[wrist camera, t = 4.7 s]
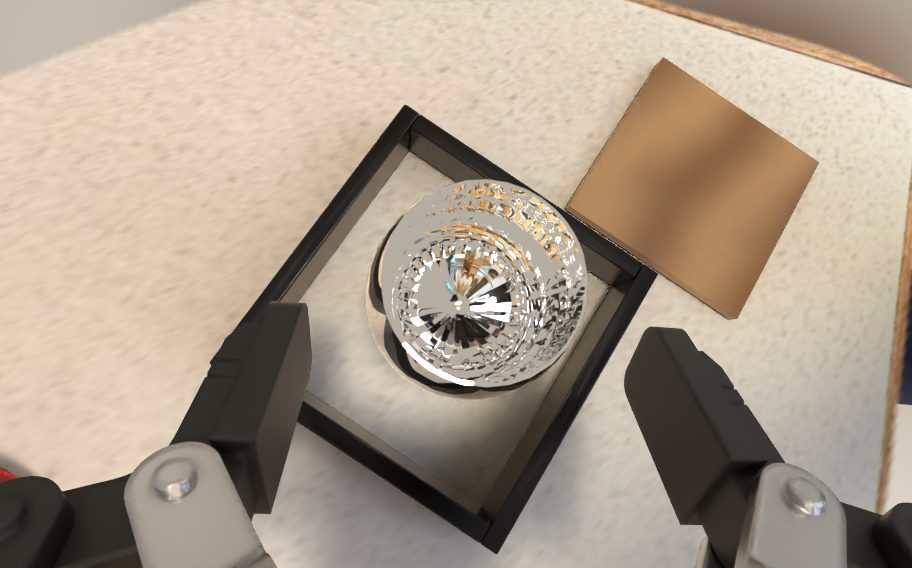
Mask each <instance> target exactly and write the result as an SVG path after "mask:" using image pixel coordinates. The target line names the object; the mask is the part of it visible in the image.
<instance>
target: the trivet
mask: <svg viewBox="0 0 912 568" xmlns="http://www.w3.org/2000/svg"><path fill="white" fill-rule="evenodd" d="M818 164H819V162H818V161H816V160H815V159H813V158H812V157H810V156H809V155H807V154H806V153H805V152H803V151H802V150H800V149H799V148H797V147H796V146H794V145H793V144H791V143H790V142H788V141H787V140H785V139H784V138H782V137H781V136H779V135H778V134H776V133H775V132H773V131H772V130H770V129H769V128H767V127H766V126H764V125H763V124H762V123H760V122H759V121H757V120H756V119H754V118H753V117H751V116H750V115H748V114H747V113H745V112H744V111H742V110H741V109H739V108H738V107H736V106H735V105H733V104H732V103H730V102H729V101H727V100H726V99H724V98H723V97H722V96H720V95H719V94H717V93H716V92H714V91H713V90H711V89H710V88H708V87H707V86H705V85H704V84H702V83H701V82H699V81H698V80H696V79H695V78H693V77H692V76H690V75H689V74H687V73H686V72H684V71H683V70H682V69H680V68H679V67H677V66H676V65H674V64H673V63H671V62H670V61H668V60H667V59H665V58H662V59H661V60H660V61H659V63H658V64H657V65H656V67H655V68H654V70H653V72H652V73H651V75H650V76H649V78H648V79H647V81H646V83H645V84H644V86H643V87H642V89H641V90H640V92H639V93H638V95H637V97H636V98H635V100H634V101H633V103H632V104H631V106H630V108H629V109H628V111H627V112H626V114H625V115H624V117H623V119H622V120H621V122H620V123H619V125H618V126H617V128H616V130H615V131H614V133H613V134H612V136H611V137H610V139H609V140H608V142H607V144H606V145H605V147H604V148H603V150H602V151H601V153H600V155H599V156H598V158H597V159H596V161H595V162H594V164H593V166H592V167H591V169H590V170H589V172H588V173H587V175H586V177H585V178H584V180H583V181H582V183H581V184H580V186H579V188H578V189H577V191H576V192H575V194H574V195H573V197H572V198H571V200H570V202H569V203H568V205H567V206H566V208H565V209H566V210H567V211H568V212H570V213H571V214H573V215H574V216H576V217H577V218H579V219H580V220H582V221H583V222H585V223H586V224H588V225H589V226H591V227H592V228H594V229H595V230H597V231H598V232H600V233H601V234H603V235H604V236H606V237H607V238H609V239H610V240H612V241H613V242H615V243H616V244H618V245H619V246H621V247H622V248H624V249H625V250H627V251H628V252H630V253H631V254H632V255H634V256H635V257H637V258H638V259H640V260H641V261H643V262H644V263H646V264H647V265H649V266H650V267H652V268H653V269H655V270H656V271H658V272H659V273H661V274H662V275H664V276H665V277H667V278H668V279H670V280H671V281H673V282H674V283H676V284H677V285H679V286H680V287H682V288H683V289H685V290H686V291H688V292H689V293H691V294H692V295H694V296H695V297H697V298H698V299H700V300H701V301H703V302H704V303H705V304H707V305H708V306H710V307H711V308H713V309H714V310H716V311H717V312H719V313H720V314H722V315H723V316H725V317H726V318H728V319H737V318H738V316H739V314H740V312H741V310H742V309H743V307H744V305H745V303H746V301H747V299H748V297H749V295H750V293H751V291H752V289H753V288H754V286H755V284H756V282H757V280H758V278H759V276H760V274H761V272H762V270H763V269H764V267H765V265H766V263H767V261H768V259H769V257H770V255H771V253H772V251H773V249H774V248H775V246H776V244H777V242H778V240H779V238H780V236H781V234H782V232H783V230H784V228H785V227H786V225H787V223H788V221H789V219H790V217H791V215H792V213H793V211H794V209H795V208H796V206H797V204H798V202H799V200H800V198H801V196H802V194H803V192H804V190H805V188H806V187H807V185H808V183H809V181H810V179H811V177H812V175H813V173H814V171H815V169H816V168H817V166H818Z"/></svg>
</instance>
